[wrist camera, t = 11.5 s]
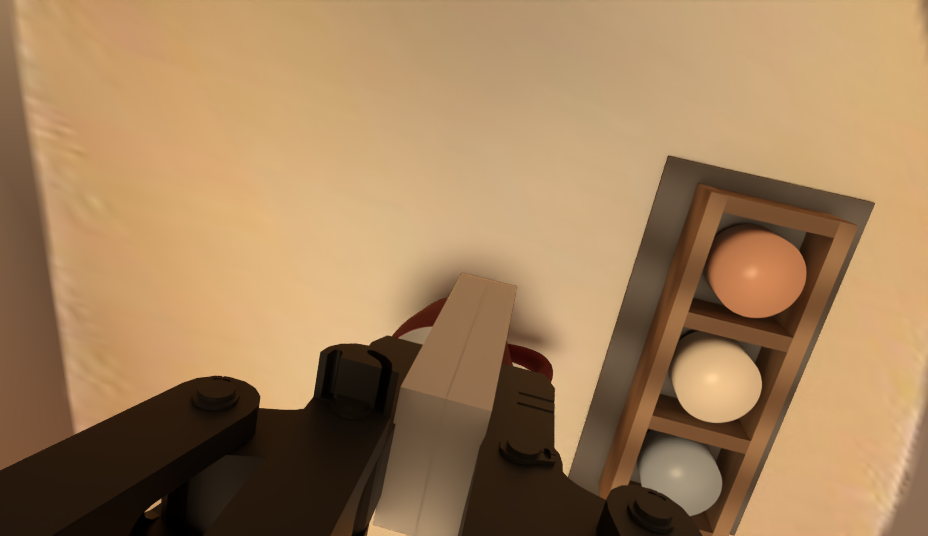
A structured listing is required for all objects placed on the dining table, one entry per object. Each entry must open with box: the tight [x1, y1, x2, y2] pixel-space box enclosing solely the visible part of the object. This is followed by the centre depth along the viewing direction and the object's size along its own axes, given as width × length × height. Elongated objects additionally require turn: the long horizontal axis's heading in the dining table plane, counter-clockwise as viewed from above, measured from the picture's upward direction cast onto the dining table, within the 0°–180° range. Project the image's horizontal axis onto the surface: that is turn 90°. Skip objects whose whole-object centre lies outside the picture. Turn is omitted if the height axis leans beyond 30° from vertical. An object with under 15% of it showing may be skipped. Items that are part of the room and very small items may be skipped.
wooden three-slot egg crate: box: [568, 156, 875, 536], centre depth 41 cm, size 26×13×4 cm, turn 168°
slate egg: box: [636, 430, 722, 516], centre depth 42 cm, size 5×5×3 cm
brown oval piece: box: [703, 224, 806, 318], centre depth 38 cm, size 5×5×3 cm
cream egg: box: [668, 331, 762, 423], centre depth 40 cm, size 5×5×3 cm
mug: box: [392, 298, 553, 382], centre depth 40 cm, size 10×8×10 cm
